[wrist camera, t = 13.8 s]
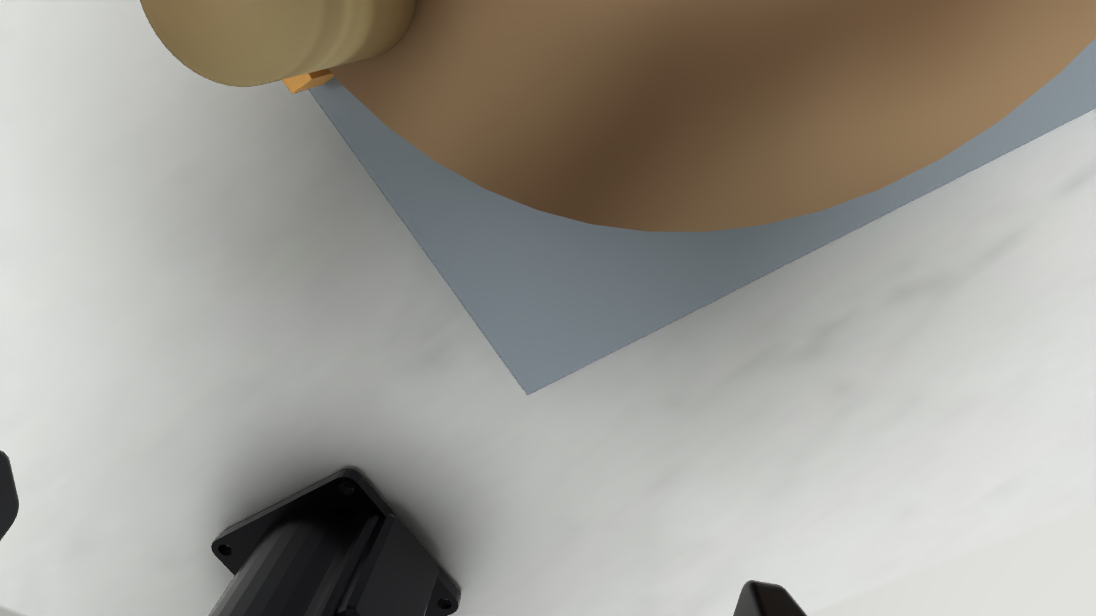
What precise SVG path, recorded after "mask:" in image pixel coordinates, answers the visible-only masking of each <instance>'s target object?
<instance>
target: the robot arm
mask: <svg viewBox="0 0 1096 616" xmlns="http://www.w3.org/2000/svg"><path fill="white" fill-rule="evenodd" d="M344 483H348V484H350V485H351V486H352V487H353V488H349V487H347V486H346V485H344ZM18 509H19V500H18V495H17V491H16V487H15V482H14V478H13V473H12V469H11V464H10V461H9V458H8V456H7V455H6V454H5V453H4V452H3V451H1V450H0V540H1V539H2V538H3V536H4V535H5V534H6V532H7V531H8V530H9V528H10V527H11V525H12V524H13V522H14V520H15V518H16V516H17V513H18ZM227 545H228V546H227ZM211 547H212V551H213V553H214V554H215V556H216V557H217V558H218V559H219V560H220V561H221V562H222V563H223V564H224V565H225V566H226V567H227V568H228V569H229V570H230V571H231V572H232V573H233V574H234V575H235V577H234V578H233V580H232V581H231V583H230V584H229V586H228V587H227V589H226V590H225V592H224V593H223V595H222V596H221V598H220V599H219V601H218V602H217V604H216V605H215V607H214V608H213V610H212V611H211V613H210V614H209V616H448V615H450V614H452V613H454V612H455V611H457V609H458V607H459V603H460V599H461V594H460V592H459V590H458V589H457V588H456V587H455V585H454V584H453V583H452V582H451V581H450V579H449V578H448V577H447V576H446V575H445V574H444V572H443V571H442V570H441V569H440V568H439V566H438V565H437V564H436V563H435V562H434V560H433V559H432V558H431V557H430V556H429V555H428V553H427V552H426V551H425V550H424V549H423V547H422V546H421V545H420V544H419V543H418V541H417V540H416V539H415V538H414V537H413V536H412V534H411V533H410V532H409V531H408V530H407V528H406V527H405V526H404V525H403V524H402V523H401V521H400V520H399V519H398V518H397V517H396V515H395V514H394V513H393V512H392V511H391V509H390V508H389V507H388V506H387V505H386V504H385V502H384V501H383V500H382V499H381V498H380V496H379V495H378V494H377V493H376V492H375V490H374V489H373V488H372V487H371V486H370V485H369V483H368V482H367V481H366V480H365V479H364V477H363V476H362V475H361V474H359V473H358V472H357V471H354V470H351V469H345V470H341V471H339V472H337V473H335V474H333V475H331V476H329V477H327V478H326V479H324V480H322V481H320V482H318V483H316V484H314V485H312V486H310V487H308V488H306V489H304V490H302V491H300V492H298V493H296V494H295V495H293V496H291V497H289V498H287V499H285V500H283V501H281V502H279V503H277V504H275V505H273V506H271V507H269V508H267V509H265V510H263V511H262V512H260V513H258V514H256V515H254V516H252V517H250V518H248V519H246V520H244V521H242V522H240V523H238V524H236V525H234V526H232V527H231V528H229V529H227V530H225V531H223V532H221V533H220V534H219V535H218V536H217V538H216V539H215V540H214V542H213V543H212V546H211ZM443 598H445V599H448V600H444V599H443ZM733 616H807V615H806V614H805V612H804V611H803V610H802V609H801V608H800V606H799V605H798V604H797V603H796V601H795V600H794V599H793V598H792V596H791V595H790V594H789V593H788V592H787V591H786V589H784V588H783V587H782V586H780V585H777V584H771V583H766V582H760V581H754V580H751V581H748V582H746V583H745V585H744V586H743V588H742V591H741V594H740V597H739V600H738V603H737V606H736V609H735V612H734V615H733Z"/></svg>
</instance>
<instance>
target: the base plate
mask: <svg viewBox="0 0 1096 616" xmlns="http://www.w3.org/2000/svg"><path fill="white" fill-rule="evenodd" d="M282 81H283V82H284V83H285V85H286V86H287V88H288V89H289V90H290V92H291V93H292V94H293V93H297V92H300V91H303V90H307V89H309V91H310V92H311V94H312V95H313V96H314V98H315V99H316V101H317V102H318V103H319V105H320V106H321V108H322V109H323V110H324V112H325V113H326V115H327V116H328V117H329V119H330V120H331V122H332V123H333V124H334V126H335V127H336V129H337V130H338V131H339V133H340V134H341V136H342V137H343V138H344V140H345V141H346V143H347V144H348V145H349V147H350V148H351V150H352V151H353V152H354V154H355V155H356V157H357V158H358V159H359V161H360V162H361V164H362V165H363V166H364V168H365V169H366V171H367V172H368V173H369V175H370V176H371V178H372V179H373V180H374V182H375V183H376V185H377V186H378V187H379V189H380V190H381V192H382V193H383V194H384V196H385V197H386V199H387V200H388V201H389V203H390V204H391V206H392V207H393V208H394V210H395V211H396V213H397V214H398V215H399V217H400V218H401V219H402V221H403V222H404V224H405V225H406V226H407V228H408V229H409V231H410V232H411V233H412V235H413V236H414V238H415V239H416V240H417V242H418V243H419V245H420V246H421V247H422V249H423V250H424V252H425V253H426V254H427V256H428V257H429V259H430V260H431V261H432V263H433V264H434V266H435V267H436V268H437V270H438V271H439V273H440V274H441V275H442V277H443V278H444V280H445V281H446V282H447V284H448V285H449V287H450V288H451V289H452V291H453V292H454V294H455V295H456V296H457V298H458V299H459V301H460V302H461V303H462V305H463V306H464V308H465V309H466V310H467V312H468V313H469V315H470V316H471V317H472V319H473V320H474V322H475V323H476V324H477V326H478V327H479V329H480V330H481V331H482V333H483V334H484V336H485V337H486V338H487V340H488V341H489V343H490V344H491V345H492V347H493V348H494V350H495V351H496V352H497V354H498V355H499V357H500V358H501V359H502V361H503V362H504V364H505V365H506V366H507V368H508V369H509V371H510V372H511V373H512V375H513V376H514V378H515V379H516V380H517V382H518V383H519V384H520V386H521V387H522V389H523V390H524V391H525V393H526V394H527V395H529V394H531V393H533V392H535V391H537V390H539V389H541V388H543V387H545V386H547V385H549V384H551V383H553V382H555V381H557V380H559V379H561V378H563V377H565V376H567V375H569V374H571V373H573V372H575V371H577V370H579V369H581V368H583V367H585V366H587V365H588V364H590V363H592V362H594V361H596V360H598V359H600V358H602V357H604V356H606V355H608V354H610V353H612V352H614V351H616V350H618V349H620V348H622V347H624V346H626V345H628V344H630V343H632V342H634V341H636V340H638V339H640V338H642V337H644V336H646V335H648V334H650V333H652V332H654V331H656V330H658V329H660V328H662V327H664V326H666V325H668V324H670V323H672V322H674V321H676V320H678V319H680V318H682V317H683V316H685V315H687V314H689V313H691V312H693V311H695V310H697V309H699V308H701V307H703V306H705V305H707V304H709V303H711V302H713V301H715V300H717V299H719V298H721V297H723V296H725V295H727V294H729V293H731V292H733V291H735V290H737V289H739V288H741V287H743V286H745V285H747V284H749V283H751V282H753V281H755V280H757V279H759V278H761V277H763V276H765V275H767V274H769V273H771V272H773V271H775V270H777V269H778V268H780V267H782V266H784V265H786V264H788V263H790V262H792V261H794V260H796V259H798V258H800V257H802V256H804V255H806V254H808V253H810V252H812V251H814V250H816V249H818V248H820V247H822V246H824V245H826V244H828V243H830V242H832V241H834V240H836V239H838V238H840V237H842V236H844V235H846V234H848V233H850V232H852V231H854V230H856V229H858V228H860V227H862V226H864V225H866V224H868V223H870V222H872V221H873V220H875V219H877V218H879V217H881V216H883V215H885V214H887V213H889V212H891V211H893V210H895V209H897V208H899V207H901V206H903V205H905V204H907V203H909V202H911V201H913V200H915V199H917V198H919V197H921V196H923V195H925V194H927V193H929V192H931V191H933V190H935V189H937V188H939V187H941V186H943V185H945V184H947V183H949V182H951V181H953V180H955V179H957V178H959V177H961V176H963V175H965V174H966V173H968V172H970V171H972V170H974V169H976V168H978V167H980V166H982V165H984V164H986V163H988V162H990V161H992V160H994V159H996V158H998V157H1000V156H1002V155H1004V154H1006V153H1008V152H1010V151H1012V150H1014V149H1016V148H1018V147H1020V146H1022V145H1024V144H1026V143H1028V142H1030V141H1032V140H1034V139H1036V138H1038V137H1040V136H1042V135H1044V134H1046V133H1048V132H1050V131H1052V130H1054V129H1056V128H1058V127H1060V126H1061V125H1063V124H1065V123H1067V122H1069V121H1071V120H1073V119H1075V118H1077V117H1079V116H1081V115H1083V114H1085V113H1087V112H1089V111H1091V110H1093V109H1095V108H1096V38H1095V39H1094V40H1093V41H1092V42H1091V43H1090V44H1089V45H1088V46H1087V47H1086V48H1085V49H1084V50H1083V51H1082V52H1081V53H1080V54H1079V55H1077V56H1076V57H1075V58H1074V59H1073V60H1072V61H1071V62H1070V63H1069V64H1068V65H1067V66H1066V67H1065V68H1064V69H1063V70H1062V71H1061V72H1060V73H1059V74H1058V75H1057V76H1055V77H1054V78H1053V79H1052V80H1050V81H1049V82H1048V83H1047V84H1045V85H1044V86H1043V87H1042V88H1040V89H1039V90H1038V91H1037V92H1035V93H1034V94H1033V95H1032V96H1030V97H1029V98H1028V99H1027V100H1025V101H1024V102H1023V103H1022V104H1020V105H1019V106H1018V107H1017V108H1015V109H1014V110H1013V111H1012V112H1010V113H1009V114H1008V115H1007V116H1005V117H1004V118H1003V119H1002V120H1000V121H999V122H997V123H996V124H994V125H993V126H991V127H990V128H988V129H987V130H985V131H983V132H982V133H980V134H979V135H977V136H976V137H974V138H972V139H971V140H969V141H968V142H966V143H965V144H963V145H962V146H960V147H958V148H957V149H955V150H954V151H952V152H951V153H949V154H948V155H946V156H944V157H943V158H941V159H940V160H938V161H936V162H934V163H932V164H930V165H928V166H926V167H924V168H922V169H920V170H918V171H916V172H914V173H912V174H910V175H908V176H906V177H904V178H902V179H900V180H898V181H896V182H894V183H892V184H890V185H888V186H886V187H884V188H882V189H879V190H877V191H874V192H871V193H868V194H866V195H863V196H860V197H857V198H855V199H852V200H849V201H847V202H844V203H841V204H838V205H836V206H833V207H830V208H827V209H825V210H822V211H819V212H814V213H810V214H806V215H802V216H798V217H794V218H789V219H785V220H781V221H777V222H773V223H769V224H764V225H759V226H750V227H742V228H733V229H725V230H716V231H708V232H646V231H638V230H631V229H623V228H616V227H608V226H600V225H593V224H588V223H584V222H581V221H577V220H573V219H569V218H565V217H562V216H558V215H554V214H550V213H546V212H543V211H539V210H536V209H533V208H531V207H528V206H526V205H523V204H521V203H518V202H516V201H513V200H511V199H508V198H506V197H503V196H501V195H498V194H496V193H493V192H491V191H488V190H486V189H484V188H482V187H480V186H479V185H477V184H475V183H473V182H471V181H470V180H468V179H466V178H464V177H462V176H461V175H459V174H457V173H455V172H453V171H452V170H450V169H448V168H446V167H444V166H443V165H441V164H439V163H437V162H435V161H434V160H433V159H431V158H430V157H428V156H427V155H426V154H424V153H423V152H422V151H420V150H419V149H417V148H416V147H415V146H413V145H412V144H411V143H409V142H408V141H406V140H405V139H404V138H402V137H401V136H400V135H398V134H397V133H395V132H394V131H393V130H391V129H390V128H389V127H387V126H386V125H385V124H384V123H383V122H382V121H381V120H380V119H379V118H377V117H376V116H375V115H374V114H373V113H372V112H371V111H370V110H369V109H368V108H367V107H366V106H365V105H363V104H362V103H361V102H360V101H359V100H358V99H357V98H356V97H355V96H354V95H353V94H352V93H351V92H349V91H348V90H347V89H346V88H345V87H344V86H343V85H342V84H341V83H340V82H339V80H338V79H337V78H336V77H335V76H334V75H333V73H332V72H331V71H330V70H329V69H328V68H327V69H323V70H319V71H315V72H311V73H307V74H303V75H299V76H295V77H290V78H286V79H282Z"/></svg>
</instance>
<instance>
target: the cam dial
mask: <svg viewBox="0 0 1096 616" xmlns="http://www.w3.org/2000/svg"><path fill="white" fill-rule="evenodd" d="M140 2H141V4H142V7H143V10H144V12H145V14H146V17H147V19H148V21H149V23H150V25H151V26H152V28H153V30H154V31H155V33H156V35H157V36H158V37H159V39H160V40H161V41H162V43H163V44H164V45H165V47H166V48H167V49H168V50H169V51H170V52H171V53H172V54H173V55H174V56H175V57H176V58H177V59H178V60H179V61H180V62H182V63H183V64H184V65H185V66H187V67H188V68H190V69H191V70H192V71H194V72H196V73H197V74H199V75H201V76H203V77H205V78H207V79H209V80H212V81H214V82H217V83H221V84H225V85H230V86H238V87H250V86H257V85H262V84H266V83H270V82H274V81H278V80H282V79H286V78H290V77H295V76H299V75H303V74H307V73H311V72H315V71H319V70H323V69H327V68H328V69H329V70H330V71H331V72H332V73H333V75H334V76H335V77H336V78H337V79H338V80H339V82H340V83H341V84H342V85H343V86H344V87H345V88H346V89H347V90H348V91H349V92H351V93H352V94H353V95H354V96H355V97H356V98H357V99H358V100H359V101H360V102H361V103H362V104H363V105H365V106H366V107H367V108H368V109H369V110H370V111H371V112H372V113H373V114H374V115H375V116H376V117H377V118H379V119H380V120H381V121H382V122H383V123H384V124H385V125H386V126H387V127H389V128H390V129H391V130H393V131H394V132H395V133H397V134H398V135H400V136H401V137H402V138H404V139H405V140H406V141H408V142H409V143H411V144H412V145H413V146H415V147H416V148H417V149H419V150H420V151H422V152H423V153H424V154H426V155H427V156H428V157H430V158H431V159H433V160H434V161H435V162H437V163H439V164H441V165H443V166H444V167H446V168H448V169H450V170H452V171H453V172H455V173H457V174H459V175H461V176H462V177H464V178H466V179H468V180H470V181H471V182H473V183H475V184H477V185H479V186H480V187H482V188H484V189H486V190H488V191H491V192H493V193H496V194H498V195H501V196H503V197H506V198H508V199H511V200H513V201H516V202H518V203H521V204H523V205H526V206H528V207H531V208H533V209H536V210H539V211H543V212H546V213H550V214H554V215H558V216H562V217H565V218H569V219H573V220H577V221H581V222H584V223H588V224H593V225H600V226H608V227H616V228H623V229H631V230H638V231H646V232H708V231H716V230H725V229H733V228H742V227H750V226H759V225H764V224H769V223H773V222H777V221H781V220H785V219H789V218H794V217H798V216H802V215H806V214H810V213H814V212H819V211H822V210H825V209H827V208H830V207H833V206H836V205H838V204H841V203H844V202H847V201H849V200H852V199H855V198H857V197H860V196H863V195H866V194H868V193H871V192H874V191H877V190H879V189H882V188H884V187H886V186H888V185H890V184H892V183H894V182H896V181H898V180H900V179H902V178H904V177H906V176H908V175H910V174H912V173H914V172H916V171H918V170H920V169H922V168H924V167H926V166H928V165H930V164H932V163H934V162H936V161H938V160H940V159H941V158H943V157H944V156H946V155H948V154H949V153H951V152H952V151H954V150H955V149H957V148H958V147H960V146H962V145H963V144H965V143H966V142H968V141H969V140H971V139H972V138H974V137H976V136H977V135H979V134H980V133H982V132H983V131H985V130H987V129H988V128H990V127H991V126H993V125H994V124H996V123H997V122H999V121H1000V120H1002V119H1003V118H1004V117H1005V116H1007V115H1008V114H1009V113H1010V112H1012V111H1013V110H1014V109H1015V108H1017V107H1018V106H1019V105H1020V104H1022V103H1023V102H1024V101H1025V100H1027V99H1028V98H1029V97H1030V96H1032V95H1033V94H1034V93H1035V92H1037V91H1038V90H1039V89H1040V88H1042V87H1043V86H1044V85H1045V84H1047V83H1048V82H1049V81H1050V80H1052V79H1053V78H1054V77H1055V76H1057V75H1058V74H1059V73H1060V72H1061V71H1062V70H1063V69H1064V68H1065V67H1066V66H1067V65H1068V64H1069V63H1070V62H1071V61H1072V60H1073V59H1074V58H1075V57H1076V56H1077V55H1079V54H1080V53H1081V52H1082V51H1083V50H1084V49H1085V48H1086V47H1087V46H1088V45H1089V44H1090V43H1091V42H1092V41H1093V40H1094V39H1095V38H1096V0H140Z"/></svg>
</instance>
